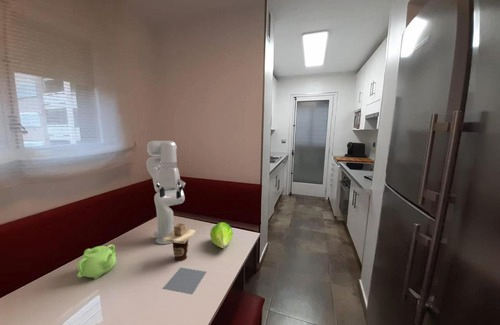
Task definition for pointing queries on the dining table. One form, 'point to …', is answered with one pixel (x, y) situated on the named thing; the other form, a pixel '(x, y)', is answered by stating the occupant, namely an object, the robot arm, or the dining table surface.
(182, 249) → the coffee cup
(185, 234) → the lid
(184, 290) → the mat
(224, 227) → the lettuce
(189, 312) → the dining table surface
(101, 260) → the teapot
